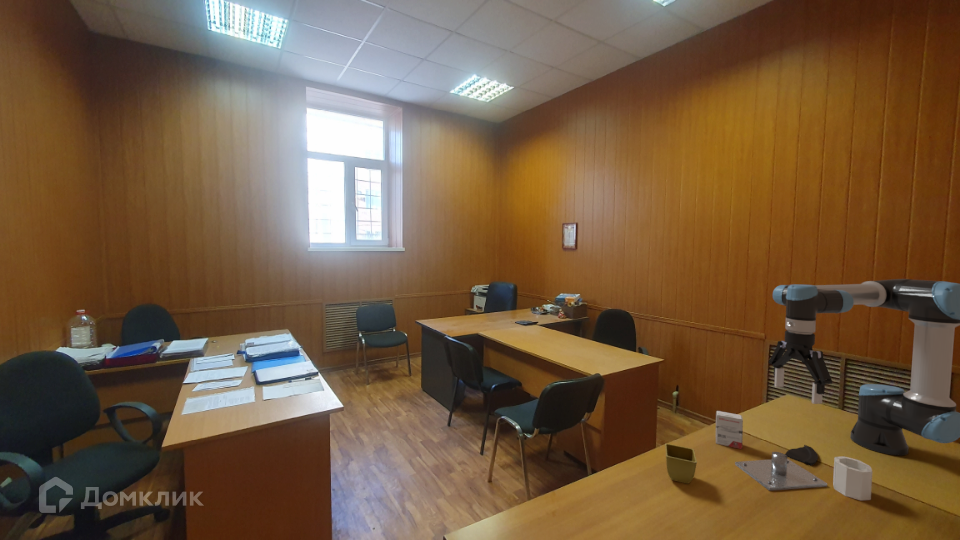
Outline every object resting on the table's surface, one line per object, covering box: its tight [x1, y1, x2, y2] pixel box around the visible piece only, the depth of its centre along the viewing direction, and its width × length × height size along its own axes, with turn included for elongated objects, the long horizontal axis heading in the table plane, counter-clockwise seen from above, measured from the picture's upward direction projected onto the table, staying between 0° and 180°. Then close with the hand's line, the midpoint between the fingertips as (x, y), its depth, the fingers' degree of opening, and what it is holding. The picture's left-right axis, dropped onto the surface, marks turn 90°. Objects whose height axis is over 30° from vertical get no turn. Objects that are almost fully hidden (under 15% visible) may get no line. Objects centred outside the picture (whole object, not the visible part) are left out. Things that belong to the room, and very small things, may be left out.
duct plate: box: [734, 451, 828, 492], centre depth 124 cm, size 20×14×7 cm
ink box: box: [715, 410, 744, 450], centre depth 144 cm, size 9×5×12 cm, turn 58°
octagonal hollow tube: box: [832, 455, 873, 501], centre depth 116 cm, size 8×8×9 cm
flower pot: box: [664, 443, 698, 484], centre depth 123 cm, size 9×9×9 cm
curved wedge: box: [784, 444, 819, 467], centre depth 136 cm, size 8×14×2 cm, turn 120°
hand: (796, 394), depth 123 cm, fingers open, 13 cm apart
